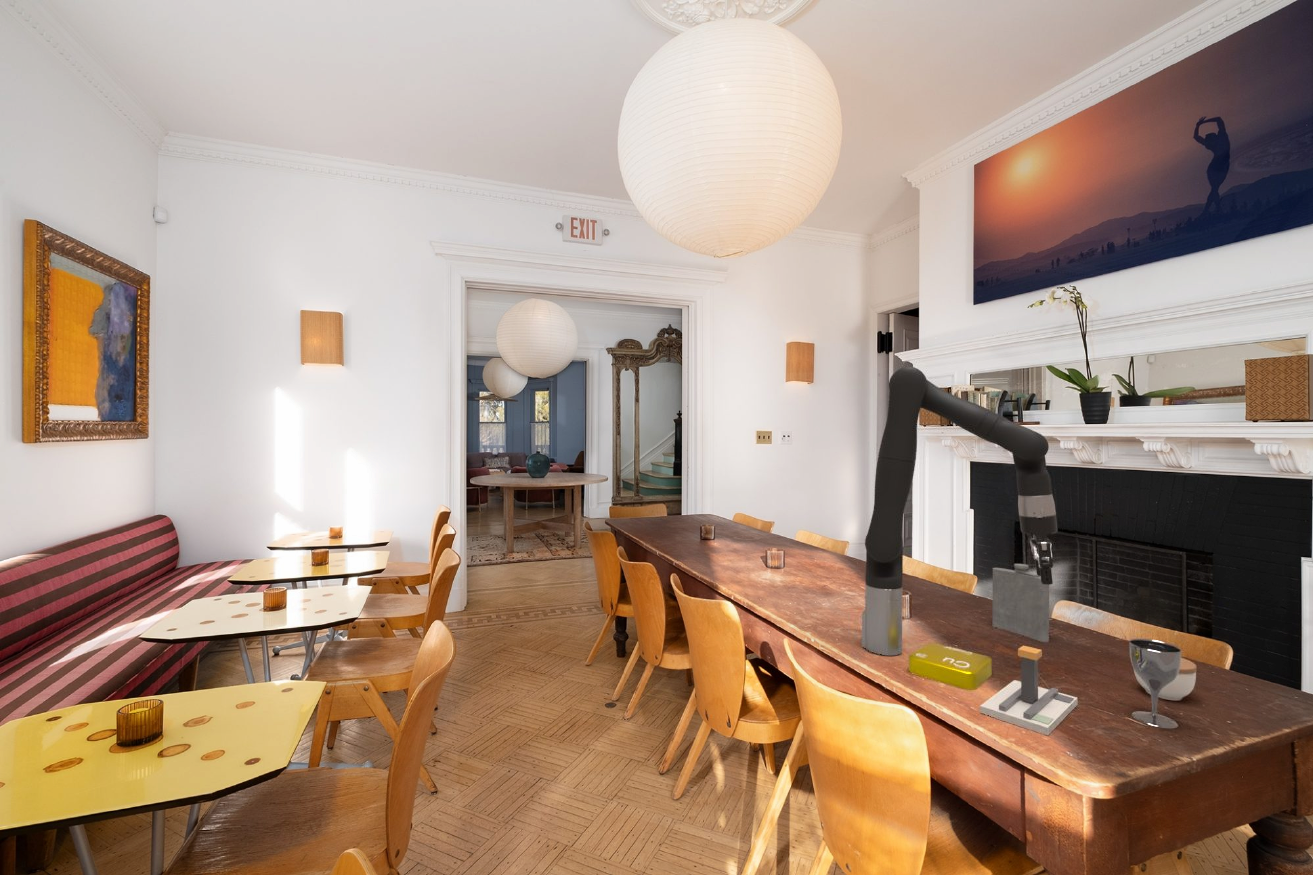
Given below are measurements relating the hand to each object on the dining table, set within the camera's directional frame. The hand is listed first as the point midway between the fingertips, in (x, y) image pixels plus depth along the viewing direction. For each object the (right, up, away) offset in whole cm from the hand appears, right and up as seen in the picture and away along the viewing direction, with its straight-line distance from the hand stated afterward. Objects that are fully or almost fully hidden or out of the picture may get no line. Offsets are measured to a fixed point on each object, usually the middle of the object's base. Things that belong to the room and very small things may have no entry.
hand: (1044, 579), depth 142 cm
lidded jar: (+18, -23, -12) cm, 32 cm away
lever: (-16, -20, -20) cm, 33 cm away
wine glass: (+6, -23, -24) cm, 34 cm away
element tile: (-23, -23, -1) cm, 33 cm away
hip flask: (+12, -23, +29) cm, 39 cm away
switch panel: (-16, -22, -20) cm, 34 cm away
